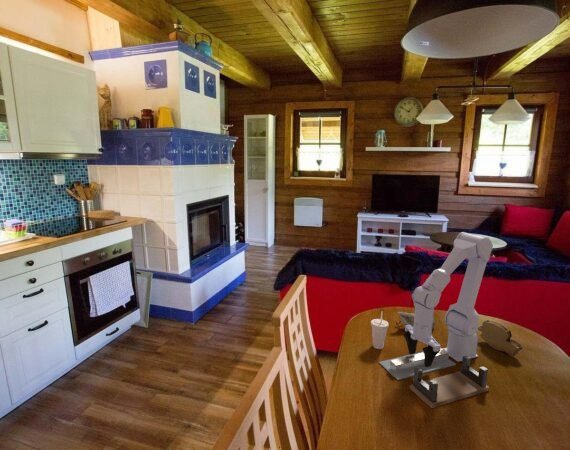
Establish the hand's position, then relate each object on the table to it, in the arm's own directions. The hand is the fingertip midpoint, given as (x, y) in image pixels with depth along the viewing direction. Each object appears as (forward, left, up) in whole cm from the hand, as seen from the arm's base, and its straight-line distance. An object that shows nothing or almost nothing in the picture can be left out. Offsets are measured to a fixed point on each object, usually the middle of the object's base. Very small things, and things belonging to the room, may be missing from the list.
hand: (419, 359), depth 117 cm
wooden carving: (-35, +1, -2) cm, 35 cm away
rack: (0, +13, -2) cm, 13 cm away
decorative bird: (-17, -22, -3) cm, 28 cm away
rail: (0, 0, -2) cm, 2 cm away
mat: (0, -1, -2) cm, 2 cm away
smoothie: (+6, -15, -2) cm, 16 cm away
